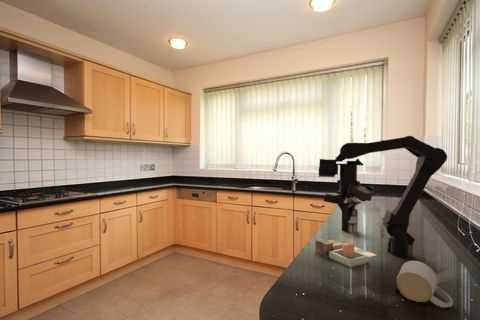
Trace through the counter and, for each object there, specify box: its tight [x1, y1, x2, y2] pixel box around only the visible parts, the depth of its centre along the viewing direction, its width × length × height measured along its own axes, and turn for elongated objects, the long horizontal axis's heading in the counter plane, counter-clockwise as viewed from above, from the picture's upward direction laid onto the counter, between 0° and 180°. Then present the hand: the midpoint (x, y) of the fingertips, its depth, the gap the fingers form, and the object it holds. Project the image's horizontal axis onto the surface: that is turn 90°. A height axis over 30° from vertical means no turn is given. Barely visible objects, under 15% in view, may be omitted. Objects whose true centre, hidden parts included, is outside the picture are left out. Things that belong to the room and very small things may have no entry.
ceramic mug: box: [396, 260, 454, 308], centre depth 59 cm, size 11×8×8 cm
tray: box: [328, 249, 369, 268], centre depth 78 cm, size 8×8×2 cm
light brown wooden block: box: [327, 239, 344, 250], centre depth 85 cm, size 5×5×3 cm
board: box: [314, 246, 377, 261], centre depth 84 cm, size 12×16×2 cm
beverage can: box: [340, 206, 359, 234], centre depth 111 cm, size 7×7×12 cm
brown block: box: [314, 238, 333, 258], centre depth 83 cm, size 5×3×4 cm, turn 27°
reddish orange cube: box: [342, 242, 355, 259], centre depth 78 cm, size 4×4×4 cm
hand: (347, 220), depth 89 cm, fingers closed
